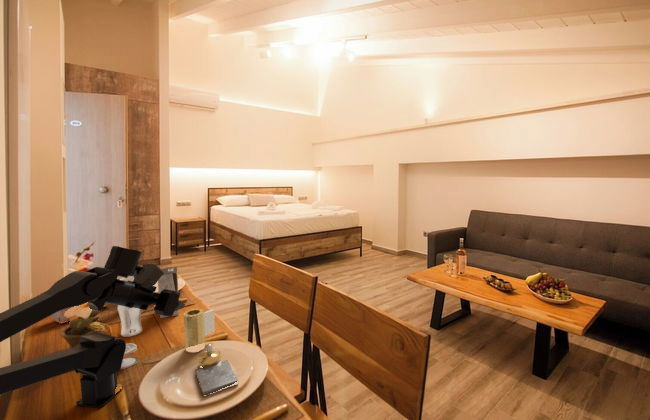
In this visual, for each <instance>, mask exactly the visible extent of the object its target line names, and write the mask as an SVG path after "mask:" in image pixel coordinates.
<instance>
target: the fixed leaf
mask: <svg viewBox="0 0 650 420" xmlns="http://www.w3.org/2000/svg"><path fill="white" fill-rule="evenodd" d="M205 348H206V350H207V352H204V351H201V352H200V353H199V355H198V366H199V365H200V366H202V367H203V368H197V369H195V374H196V373H197V376H198V379H197V381H198V380H199V382H198V384H199V383H200V385H199V387H200V386H201V388H200V390H201V389H202V391H201V394H202V393H203V395H202V397H203V396H204V395H208V394H210V393H213V392H216V391H218V390H220V389H222V388H225V387H227V386H230V385H232V384H234V383H235V382H237V381H238V382H239V380H238V378H237V376H236V374H235V371H234V370H233V368H232V365H231V364H230V362H229V360H228V359H227V360H223V361H222V358H221V357H222V355H221V351H220V350H219V351H212V349H213V345H212V344H211V343H209V344H207V345H206V347H205ZM206 350H205V351H206ZM220 361H221V362H220ZM197 376H196V377H197ZM216 393H217V392H216ZM208 396H209V395H208Z"/></svg>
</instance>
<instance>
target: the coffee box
mask: <svg viewBox="0 0 650 420" xmlns="http://www.w3.org/2000/svg"><path fill="white" fill-rule="evenodd" d="M161 269H162V270H163V271H164V274H163V276H161V277H160V279H159V280H158V281H157V287H158V288H157V289H158V292H157V293H160V292H161V291H162V290H164V289H168V290H173V291H177V292H179V281H178V279H179V278H178V266H175V267H174V266H172V267H165V268H161ZM179 313H180V310H177V311H175V312H174V313H173V315H172V316H171V317H174V316H175V317H176V316H179ZM159 318H160V319H164V318H169V316H163V315H159Z"/></svg>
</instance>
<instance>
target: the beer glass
mask: <svg viewBox="0 0 650 420" xmlns="http://www.w3.org/2000/svg"><path fill="white" fill-rule="evenodd" d="M116 308H117V313H118V316H119V318H120V323H121V330H120V336H121V337H124V338H130V337H134V336H137V335H139V334H140V333H142V332H143V326H142V321H141V318H142V317H141V316H142V309H138V308H129V307H125V306H120V305H116Z"/></svg>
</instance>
